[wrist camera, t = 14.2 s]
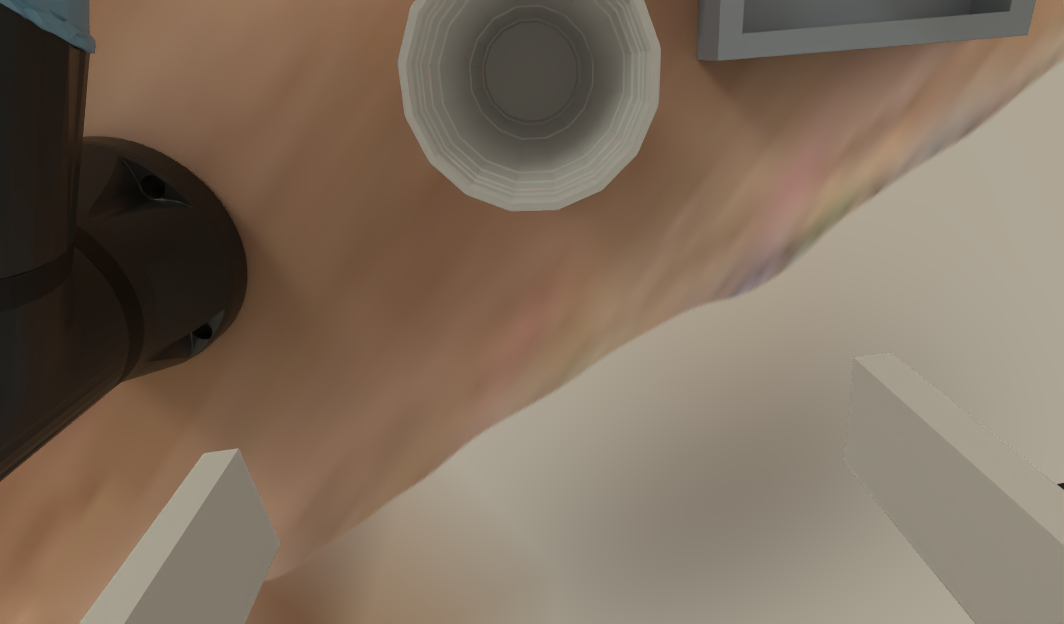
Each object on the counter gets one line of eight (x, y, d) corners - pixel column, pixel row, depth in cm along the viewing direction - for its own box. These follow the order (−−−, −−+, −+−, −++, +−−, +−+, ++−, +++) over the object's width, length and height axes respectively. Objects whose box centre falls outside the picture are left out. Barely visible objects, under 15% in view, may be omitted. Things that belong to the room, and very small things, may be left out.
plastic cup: (410, -2, 33) (352, -29, 22) (598, -56, 32) (637, -113, 21) (465, 185, 37) (440, 241, 26) (633, 142, 36) (680, 181, 25)
